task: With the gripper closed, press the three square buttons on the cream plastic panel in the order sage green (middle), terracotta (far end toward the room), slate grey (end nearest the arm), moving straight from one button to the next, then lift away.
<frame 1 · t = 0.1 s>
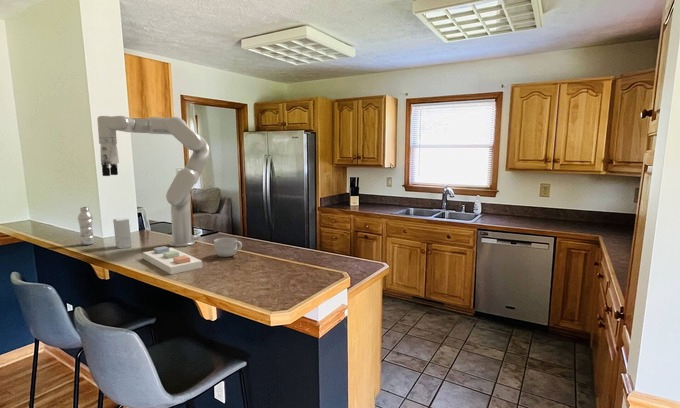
hand: (110, 175, 183), 37 cm above the table, tool pointing down, fingers open, 9 cm apart
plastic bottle: (87, 244, 192), on the table
slate button: (161, 250, 168), point 4 cm above the table, slide at 0.0 cm
button panel: (171, 263, 161), on the table
teacup: (228, 256, 173), on the table
skincare box: (123, 247, 189), on the table
terracotta button: (181, 259, 153), point 4 cm above the table, slide at 0.0 cm
sage button: (171, 254, 160), point 4 cm above the table, slide at 0.0 cm
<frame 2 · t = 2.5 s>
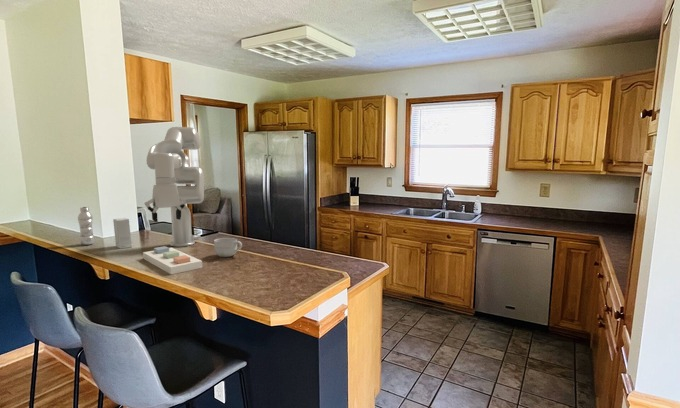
hand: (167, 220, 159), 19 cm above the table, tool pointing down, fingers open, 9 cm apart
nothing on the table moved.
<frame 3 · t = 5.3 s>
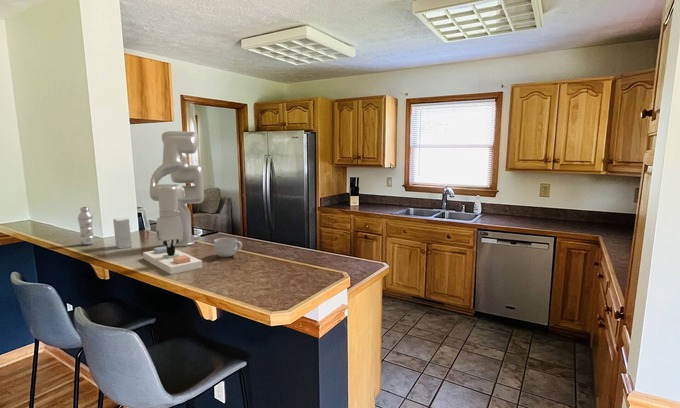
hand: (171, 254, 160), 4 cm above the table, tool pointing down, fingers closed
sage button: (171, 257, 160), point 3 cm above the table, slide at 1.1 cm, touching gripper
everything else where it was.
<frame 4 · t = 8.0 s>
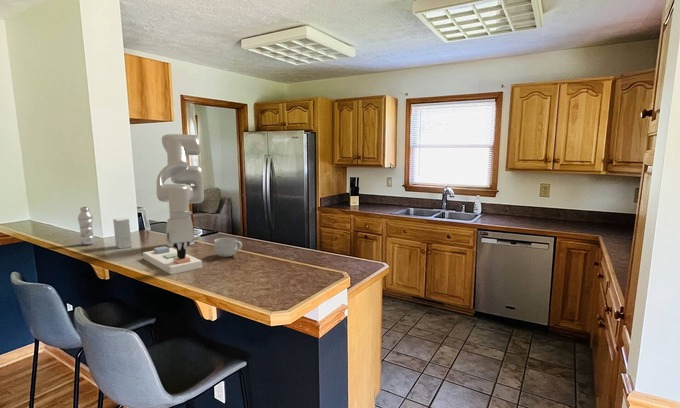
hand: (181, 258, 153), 5 cm above the table, tool pointing down, fingers closed
terracotta button: (181, 260, 153), point 4 cm above the table, slide at 0.3 cm, touching gripper
sage button: (171, 257, 160), point 3 cm above the table, slide at 1.2 cm
everything else where it was.
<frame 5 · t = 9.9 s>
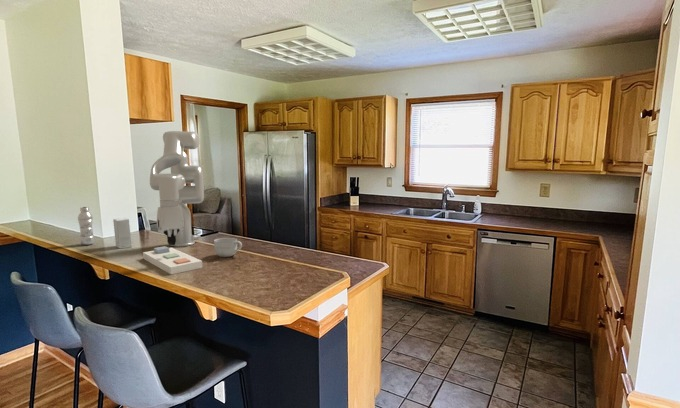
hand: (171, 244, 159), 9 cm above the table, tool pointing down, fingers closed
terracotta button: (181, 262, 153), point 3 cm above the table, slide at 1.2 cm
everything else where it was.
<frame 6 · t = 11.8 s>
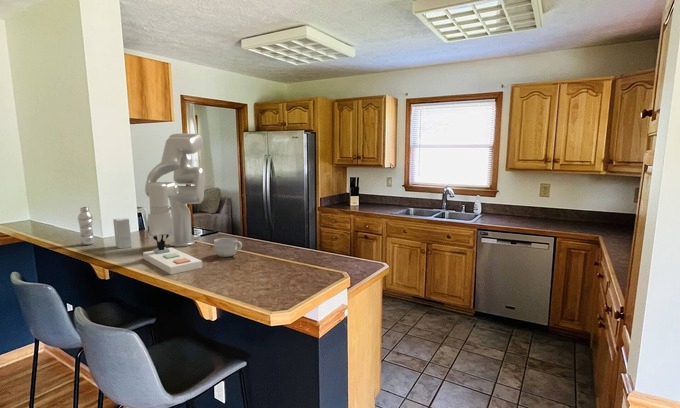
hand: (161, 249, 167), 4 cm above the table, tool pointing down, fingers closed
slate button: (161, 251, 168), point 3 cm above the table, slide at 0.5 cm, touching gripper
everything else where it was.
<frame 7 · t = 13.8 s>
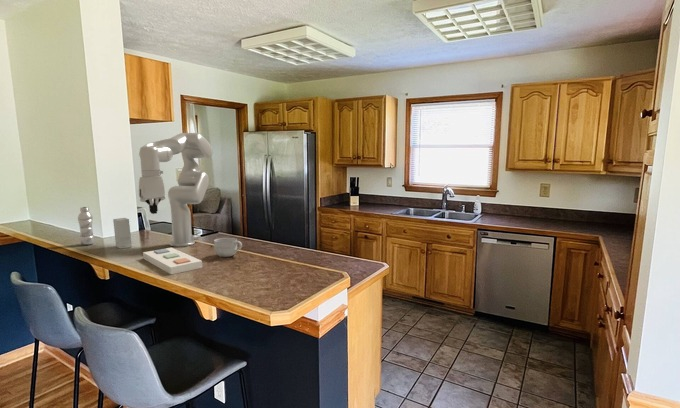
hand: (153, 213, 167), 21 cm above the table, tool pointing down, fingers closed
slate button: (161, 252, 168), point 3 cm above the table, slide at 1.2 cm
everything else where it was.
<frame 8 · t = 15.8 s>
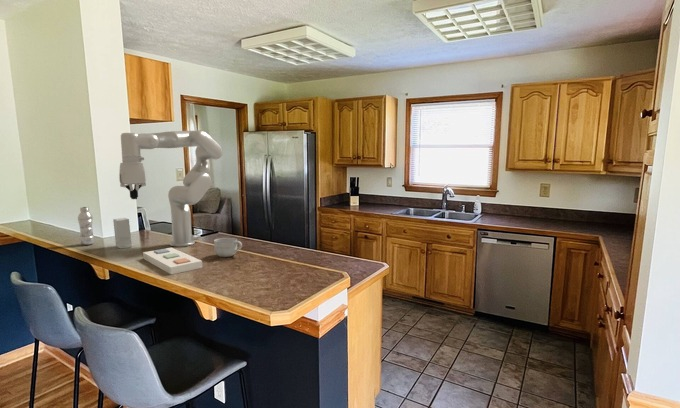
hand: (134, 198, 170), 27 cm above the table, tool pointing down, fingers closed
nothing on the table moved.
at the end: sage button slide at 1.2 cm; terracotta button slide at 1.2 cm; slate button slide at 1.2 cm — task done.
